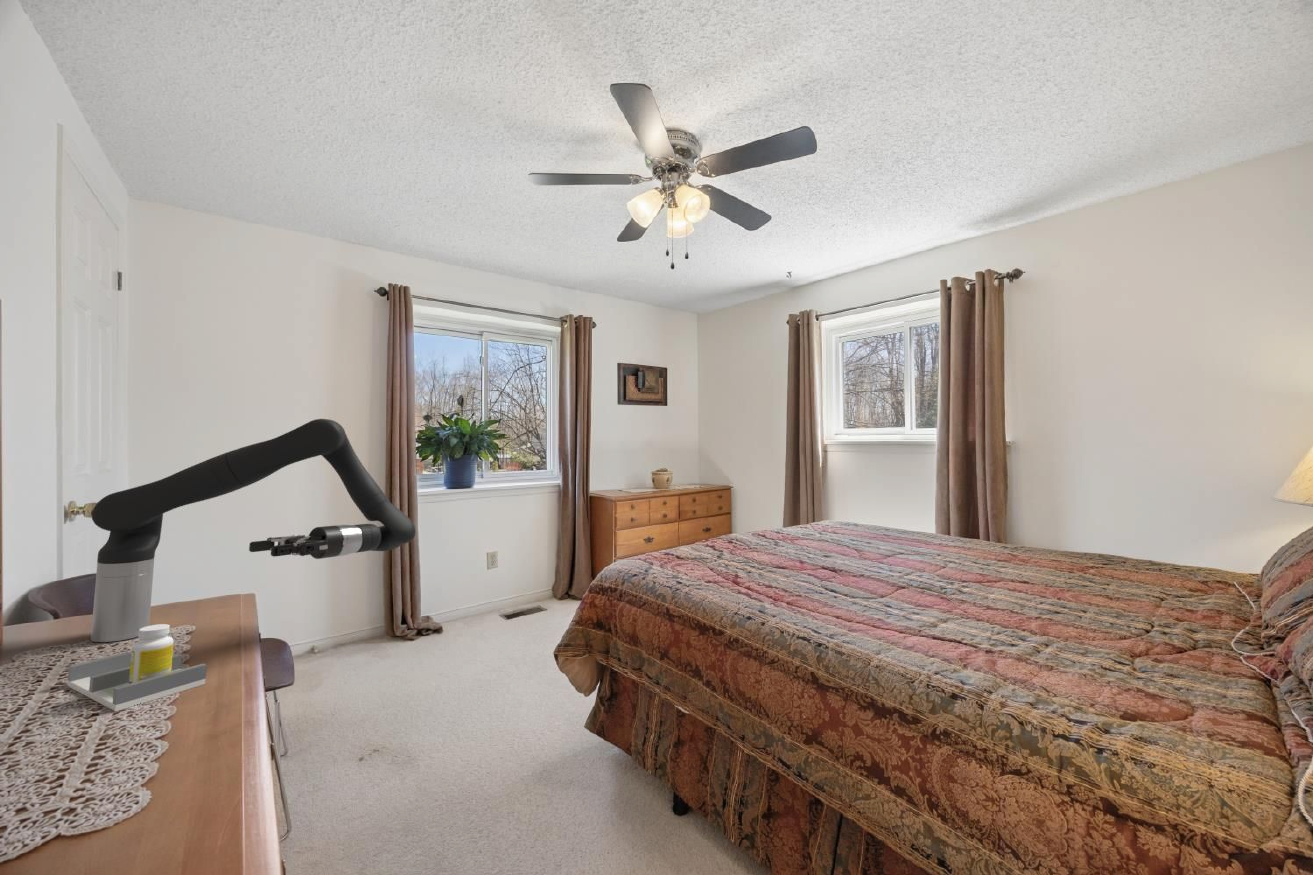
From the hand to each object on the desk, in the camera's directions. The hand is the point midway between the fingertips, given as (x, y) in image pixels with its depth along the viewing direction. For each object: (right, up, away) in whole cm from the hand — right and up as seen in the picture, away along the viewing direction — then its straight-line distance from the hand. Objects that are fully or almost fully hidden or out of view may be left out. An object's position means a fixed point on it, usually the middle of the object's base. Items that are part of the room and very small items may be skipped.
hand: (260, 549), depth 111 cm
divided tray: (-9, -21, -17) cm, 29 cm away
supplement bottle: (-5, -20, -19) cm, 28 cm away
